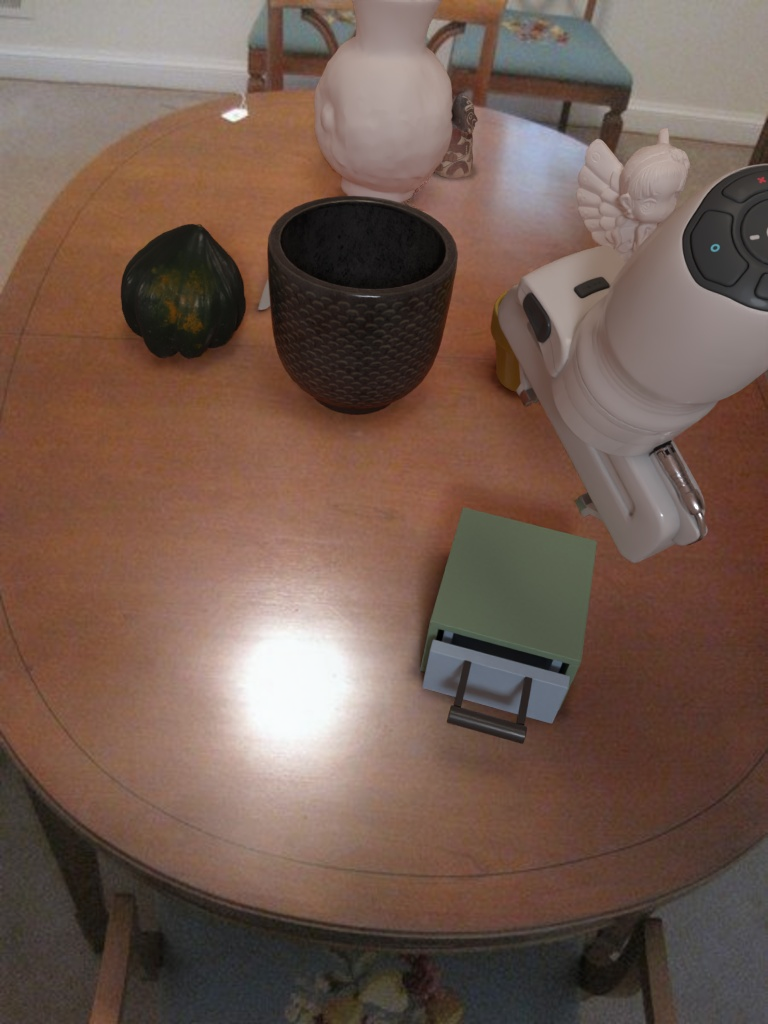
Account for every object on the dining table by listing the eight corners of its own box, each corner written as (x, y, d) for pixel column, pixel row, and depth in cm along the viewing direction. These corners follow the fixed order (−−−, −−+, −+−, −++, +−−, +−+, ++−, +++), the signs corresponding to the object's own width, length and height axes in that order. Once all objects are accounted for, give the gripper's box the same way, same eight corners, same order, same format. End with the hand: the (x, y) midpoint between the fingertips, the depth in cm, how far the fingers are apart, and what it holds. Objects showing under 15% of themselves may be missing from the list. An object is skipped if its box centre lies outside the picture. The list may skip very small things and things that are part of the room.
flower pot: (464, 379, 105) (477, 311, 98) (508, 341, 111) (523, 275, 104) (537, 417, 101) (556, 349, 94) (578, 376, 107) (599, 310, 100)
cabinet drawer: (542, 785, 69) (561, 748, 65) (405, 746, 70) (413, 707, 66) (569, 610, 81) (586, 568, 77) (451, 579, 83) (461, 536, 78)
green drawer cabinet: (559, 709, 75) (581, 661, 69) (419, 670, 76) (430, 621, 71) (577, 591, 84) (597, 540, 79) (451, 558, 86) (462, 506, 80)
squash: (83, 330, 97) (164, 244, 89) (112, 262, 107) (186, 181, 100) (186, 402, 104) (268, 328, 97) (203, 333, 115) (279, 261, 107)
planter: (307, 460, 93) (310, 311, 79) (246, 355, 105) (240, 208, 91) (465, 419, 100) (494, 275, 86) (392, 324, 112) (407, 183, 98)
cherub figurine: (593, 310, 118) (636, 168, 103) (552, 261, 125) (587, 123, 111) (675, 299, 121) (727, 160, 106) (630, 252, 129) (674, 117, 114)
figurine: (462, 182, 140) (474, 107, 131) (422, 170, 141) (431, 95, 132) (478, 165, 144) (490, 91, 135) (439, 154, 146) (448, 80, 137)
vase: (358, 237, 125) (373, 10, 103) (293, 171, 137) (294, -45, 115) (464, 213, 133) (499, -3, 111) (393, 153, 145) (413, -54, 123)
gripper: (759, 512, 51) (658, 557, 64) (595, 222, 54) (532, 322, 67) (671, 555, 49) (586, 592, 63) (508, 255, 53) (461, 350, 66)
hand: (557, 450), depth 65 cm, fingers open, 8 cm apart
